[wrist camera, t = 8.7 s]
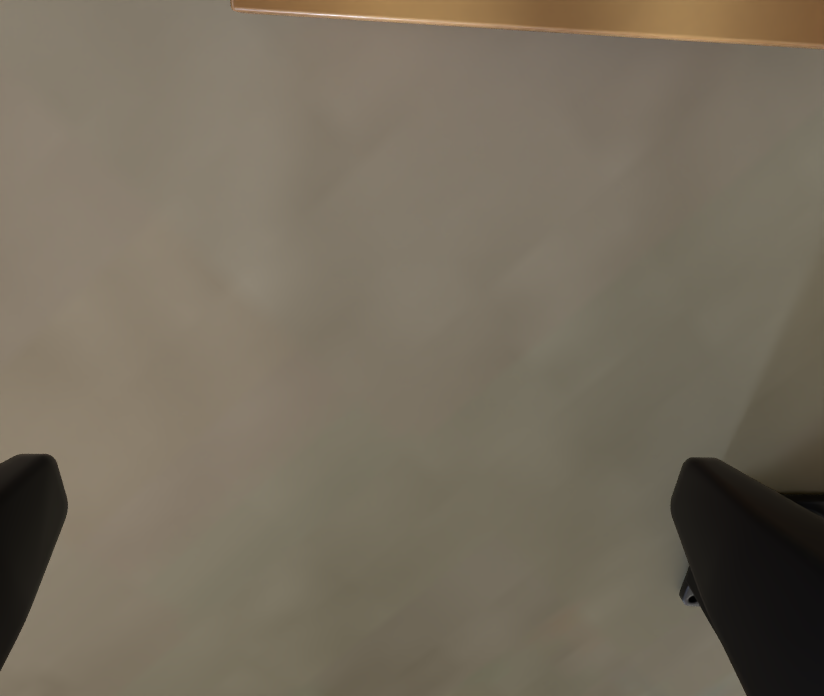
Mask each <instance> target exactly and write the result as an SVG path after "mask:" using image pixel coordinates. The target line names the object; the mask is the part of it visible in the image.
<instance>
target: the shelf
mask: <svg viewBox="0 0 824 696" xmlns="http://www.w3.org/2000/svg"><path fill="white" fill-rule="evenodd" d="M230 4H231V8H232V10H234V11H237V12H241V13H251V14H267V15H283V16H299V17H315V18H331V19H347V20H363V21H379V22H395V23H411V24H427V25H443V26H459V27H475V28H491V29H507V30H523V31H539V32H555V33H571V34H587V35H603V36H619V37H635V38H651V39H667V40H683V41H699V42H715V43H731V44H747V45H763V46H779V47H795V48H811V49H824V0H230Z"/></svg>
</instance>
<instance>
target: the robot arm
mask: <svg viewBox="0 0 824 696" xmlns="http://www.w3.org/2000/svg"><path fill="white" fill-rule="evenodd" d="M67 509H68V501H67V496H66V493H65V489H64V486H63V482H62V479H61V475H60V472H59V468H58V465H57V462H56V460H55V459H54V458H53V457H52V456H51V455H48V454H19V455H16V456H14V457H12V458H10V459H8V460H6V461H4V462H3V463H1V464H0V671H1V669H2V667H3V665H4V663H5V661H6V659H7V657H8V655H9V653H10V651H11V649H12V647H13V645H14V643H15V641H16V639H17V637H18V635H19V633H20V631H21V629H22V627H23V625H24V623H25V621H26V618H27V616H28V614H29V611H30V609H31V606H32V604H33V601H34V599H35V596H36V594H37V591H38V589H39V586H40V583H41V581H42V578H43V576H44V573H45V570H46V568H47V565H48V563H49V560H50V557H51V555H52V552H53V550H54V547H55V544H56V542H57V539H58V537H59V534H60V532H61V529H62V526H63V524H64V521H65V518H66V515H67ZM671 514H672V518H673V521H674V523H675V526H676V529H677V532H678V534H679V537H680V540H681V543H682V546H683V548H684V551H685V554H686V557H687V559H688V562H689V565H690V566H689V569H688V571H687V574H686V576H685V579H684V582H683V584H682V587H681V590H680V593H679V595H680V597H681V599H682V601H683V602H684V604H685V605H687V606H700V607H701V608H702V610H703V612H704V614H705V615H706V617H707V619H708V621H709V622H710V624H711V626H712V628H713V629H714V631H715V633H716V634H717V636H718V638H719V640H720V641H721V643H722V645H723V647H724V649H725V651H726V653H727V655H728V658H729V660H730V662H731V664H732V666H733V668H734V670H735V672H736V674H737V676H738V678H739V680H740V683H741V685H742V687H743V689H744V691H745V693H746V695H747V696H824V495H781V494H779V493H777V492H776V491H774V490H772V489H770V488H769V487H767V486H765V485H763V484H761V483H760V482H758V481H756V480H754V479H753V478H751V477H749V476H747V475H746V474H744V473H742V472H740V471H739V470H737V469H735V468H733V467H731V466H730V465H728V464H726V463H724V462H723V461H721V460H719V459H716V458H700V457H692V458H689V459H687V460H686V461H685V462H684V463H683V466H682V468H681V471H680V474H679V477H678V480H677V483H676V486H675V489H674V492H673V495H672V498H671Z"/></svg>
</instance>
